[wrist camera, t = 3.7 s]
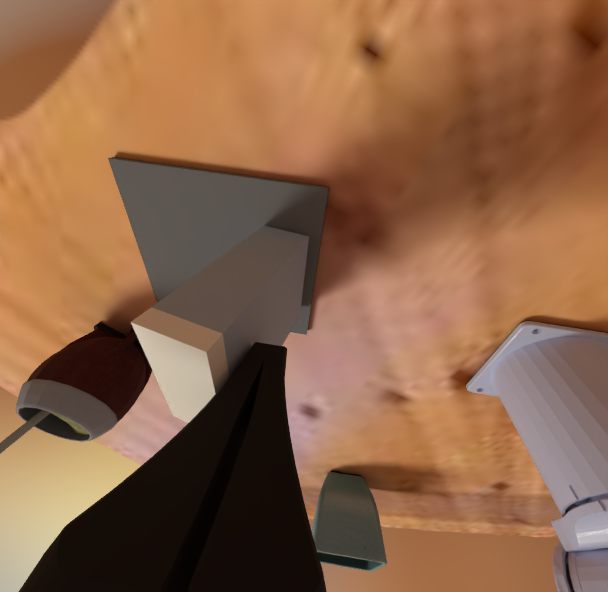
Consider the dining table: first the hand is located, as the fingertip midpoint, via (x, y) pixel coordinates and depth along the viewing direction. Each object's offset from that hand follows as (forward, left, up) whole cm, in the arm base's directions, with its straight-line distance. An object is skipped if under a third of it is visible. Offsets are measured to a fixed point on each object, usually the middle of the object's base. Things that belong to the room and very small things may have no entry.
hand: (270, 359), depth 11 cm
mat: (+5, 0, -7) cm, 9 cm away
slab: (+1, 0, -7) cm, 7 cm away
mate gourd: (+16, +11, -8) cm, 21 cm away
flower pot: (-10, +36, -8) cm, 38 cm away
